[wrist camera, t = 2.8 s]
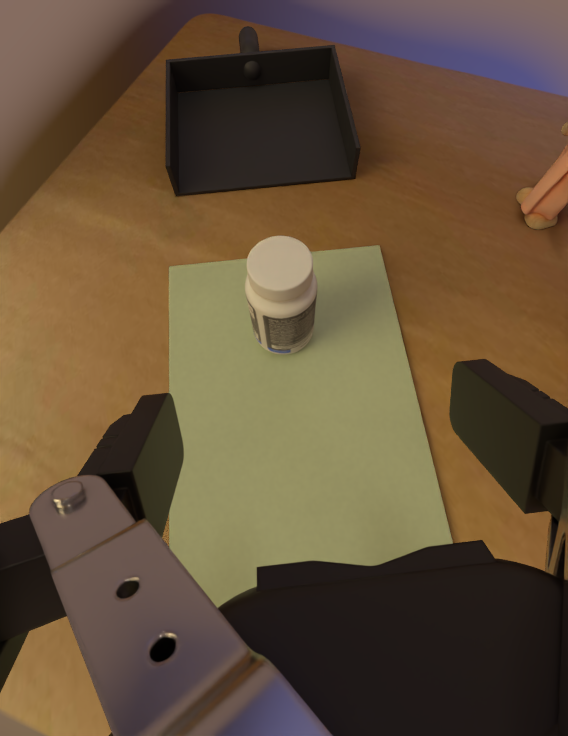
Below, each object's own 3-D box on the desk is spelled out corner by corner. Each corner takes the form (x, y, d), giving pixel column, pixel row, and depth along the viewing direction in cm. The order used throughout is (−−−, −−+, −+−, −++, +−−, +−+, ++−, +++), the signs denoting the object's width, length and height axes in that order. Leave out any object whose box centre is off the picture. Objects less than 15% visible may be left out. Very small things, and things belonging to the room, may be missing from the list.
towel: (471, 624, 24) (473, 625, 24) (170, 661, 24) (169, 663, 23) (378, 247, 35) (379, 245, 34) (169, 268, 34) (168, 266, 34)
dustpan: (355, 178, 38) (360, 147, 35) (175, 196, 37) (165, 166, 34) (323, 44, 45) (325, 9, 42) (174, 57, 45) (165, 23, 42)
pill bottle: (324, 320, 32) (335, 251, 24) (292, 367, 30) (292, 309, 22) (274, 292, 33) (269, 218, 25) (240, 336, 31) (224, 271, 24)
